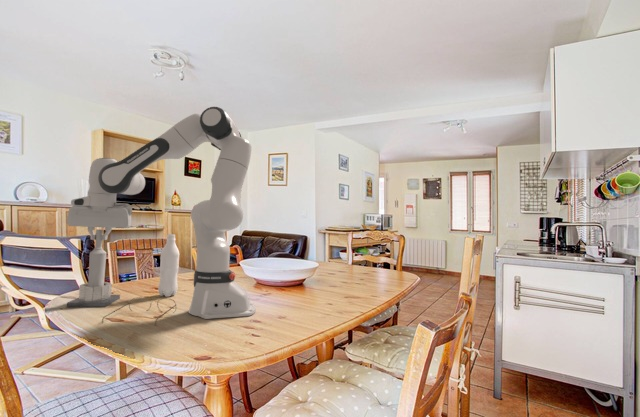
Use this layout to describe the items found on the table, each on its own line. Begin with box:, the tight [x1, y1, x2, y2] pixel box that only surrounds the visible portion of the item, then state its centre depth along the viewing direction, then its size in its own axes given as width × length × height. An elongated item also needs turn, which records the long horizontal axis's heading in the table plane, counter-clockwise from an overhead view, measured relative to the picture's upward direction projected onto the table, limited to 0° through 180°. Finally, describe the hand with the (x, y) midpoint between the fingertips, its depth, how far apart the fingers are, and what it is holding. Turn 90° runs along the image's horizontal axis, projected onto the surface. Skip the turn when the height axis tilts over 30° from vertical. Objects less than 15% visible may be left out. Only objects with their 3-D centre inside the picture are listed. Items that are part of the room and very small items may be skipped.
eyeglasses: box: [101, 296, 177, 327], centre depth 103 cm, size 16×15×5 cm
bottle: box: [87, 228, 107, 287], centre depth 118 cm, size 5×5×25 cm
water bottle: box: [157, 233, 180, 298], centre depth 133 cm, size 7×7×25 cm
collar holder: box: [66, 281, 121, 308], centre depth 117 cm, size 12×12×6 cm
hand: (98, 239), depth 118 cm, fingers closed on bottle, 2 cm apart
